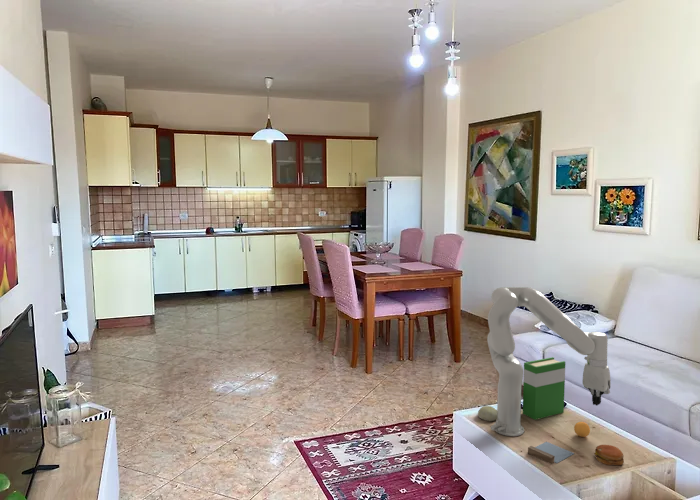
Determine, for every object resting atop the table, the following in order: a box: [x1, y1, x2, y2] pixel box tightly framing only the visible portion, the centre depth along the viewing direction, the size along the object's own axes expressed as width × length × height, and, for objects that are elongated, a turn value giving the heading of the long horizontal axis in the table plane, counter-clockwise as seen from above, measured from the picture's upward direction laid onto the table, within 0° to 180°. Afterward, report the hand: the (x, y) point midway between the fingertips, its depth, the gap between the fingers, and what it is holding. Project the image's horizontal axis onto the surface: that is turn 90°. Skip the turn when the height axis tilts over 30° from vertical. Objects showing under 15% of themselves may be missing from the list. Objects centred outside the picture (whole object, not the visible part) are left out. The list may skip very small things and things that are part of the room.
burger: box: [593, 444, 624, 466], centre depth 193 cm, size 10×9×5 cm
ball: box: [573, 421, 591, 438], centre depth 211 cm, size 6×6×6 cm
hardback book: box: [522, 356, 566, 421], centre depth 234 cm, size 18×7×24 cm, turn 115°
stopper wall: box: [527, 445, 555, 465], centre depth 194 cm, size 2×10×2 cm, turn 36°
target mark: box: [534, 441, 575, 464], centre depth 199 cm, size 12×12×1 cm
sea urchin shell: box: [477, 405, 497, 422], centre depth 230 cm, size 9×8×8 cm
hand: (596, 404), depth 216 cm, fingers closed
